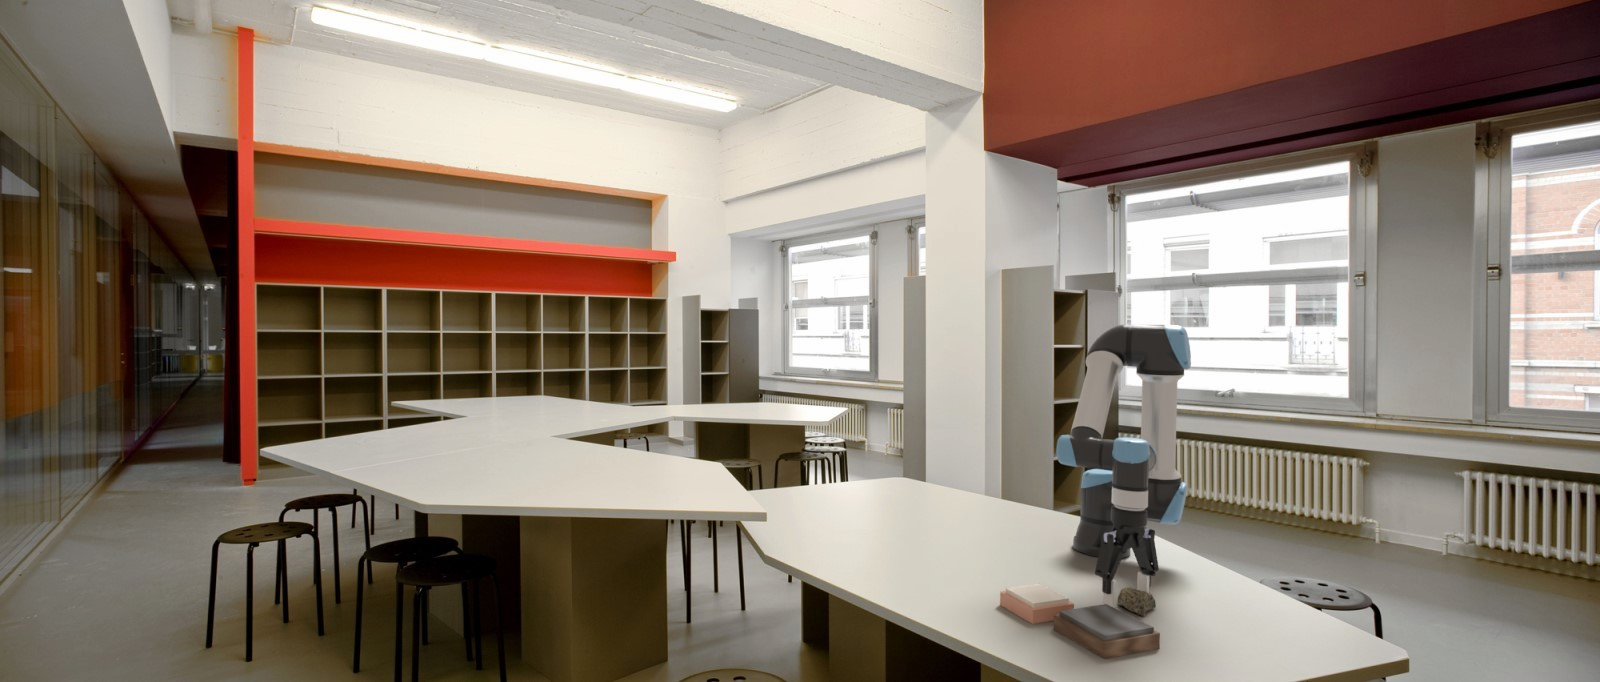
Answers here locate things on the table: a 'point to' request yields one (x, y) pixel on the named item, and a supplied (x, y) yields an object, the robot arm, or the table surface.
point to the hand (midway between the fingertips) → (1126, 604)
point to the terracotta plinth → (1034, 602)
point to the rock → (1136, 600)
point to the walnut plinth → (1106, 631)
